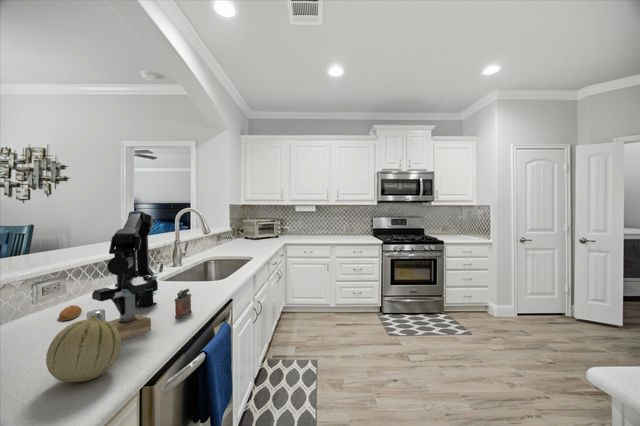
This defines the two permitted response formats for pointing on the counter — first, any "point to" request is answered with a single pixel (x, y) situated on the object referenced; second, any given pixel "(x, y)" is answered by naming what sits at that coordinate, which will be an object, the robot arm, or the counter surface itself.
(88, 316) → the cylinder
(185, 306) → the lighter
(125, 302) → the square bit
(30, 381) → the counter surface
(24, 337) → the counter surface
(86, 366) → the cantaloupe
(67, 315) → the pastry
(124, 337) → the socket block
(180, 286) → the counter surface
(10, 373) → the counter surface
